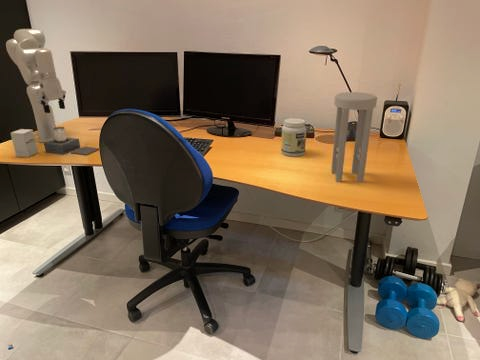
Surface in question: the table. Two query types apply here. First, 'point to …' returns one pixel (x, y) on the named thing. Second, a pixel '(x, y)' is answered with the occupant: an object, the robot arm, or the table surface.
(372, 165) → the table surface
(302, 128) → the supplement tub
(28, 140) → the supplement box
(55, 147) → the housing
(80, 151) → the mat
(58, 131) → the cover plug
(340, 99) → the stool
